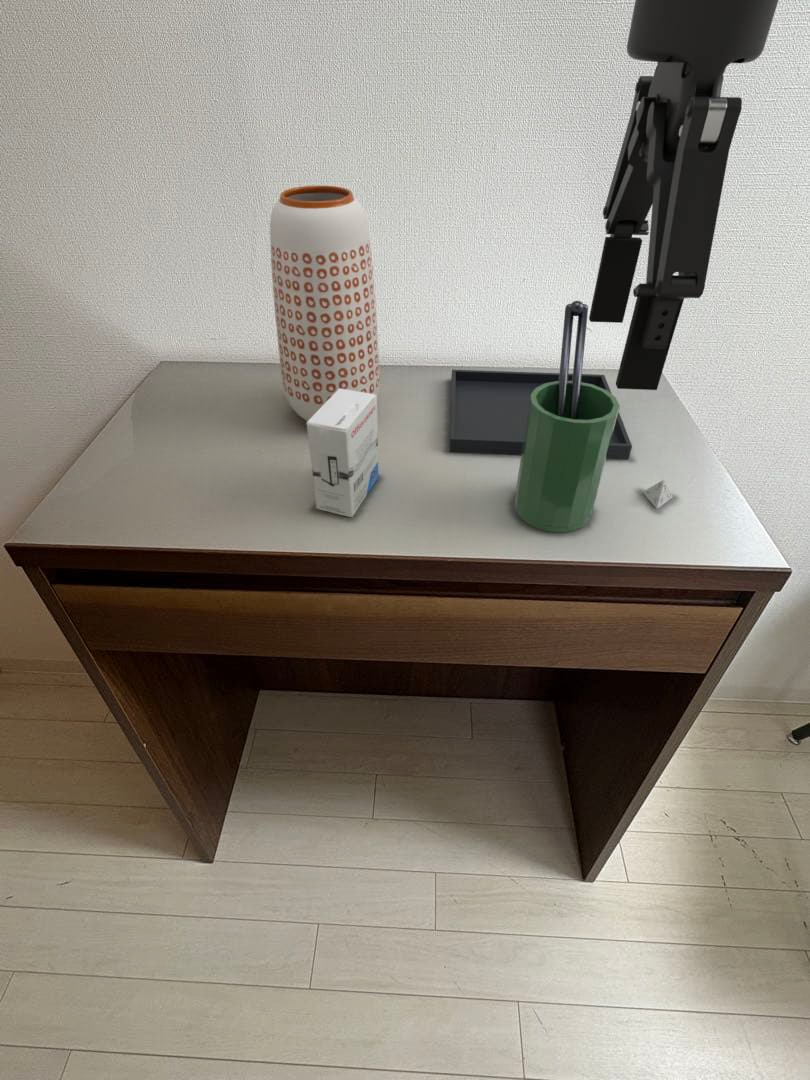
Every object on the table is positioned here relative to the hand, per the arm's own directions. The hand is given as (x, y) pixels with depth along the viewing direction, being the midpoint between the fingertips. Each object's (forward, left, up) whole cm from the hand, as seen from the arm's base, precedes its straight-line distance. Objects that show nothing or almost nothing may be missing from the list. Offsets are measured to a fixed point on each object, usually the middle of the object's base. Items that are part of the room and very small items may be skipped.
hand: (619, 350), depth 48 cm
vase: (+38, -19, -24) cm, 49 cm away
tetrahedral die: (-7, -17, -24) cm, 30 cm away
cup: (+4, -10, -24) cm, 26 cm away
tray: (+12, -30, -24) cm, 40 cm away
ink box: (+27, -3, -24) cm, 36 cm away
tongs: (+5, -12, -13) cm, 18 cm away
